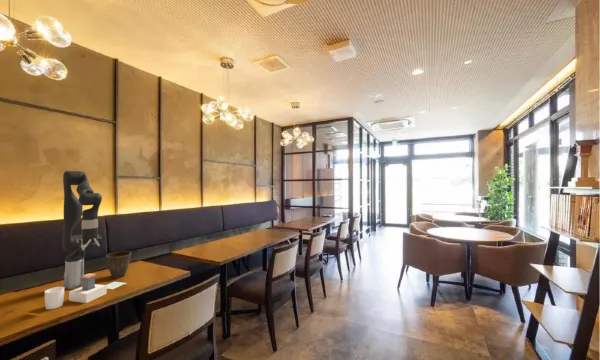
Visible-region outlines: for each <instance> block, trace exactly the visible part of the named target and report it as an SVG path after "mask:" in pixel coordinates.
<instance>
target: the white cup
mask: <svg viewBox="0 0 600 360" xmlns="http://www.w3.org/2000/svg"><path fill="white" fill-rule="evenodd" d="M64 299H65V287H64V286H54V287H51V288H48V289H46V290H44V303H45V304H44V305H45V309H46V310H53V309H57V308H60V307H62V306H64V305H63V304H64V302H65V301H64Z"/></svg>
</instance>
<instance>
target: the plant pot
mask: <svg viewBox="0 0 600 360" xmlns="http://www.w3.org/2000/svg"><path fill="white" fill-rule="evenodd" d="M131 256H132V252H131V251H125V250H124V251H116V252H110V253H108V254H106V255H105V258H106V264H107V268H108V271H109V273H110V276H111V278H112V279H119V278H123V277H125V275H126V273H127V271H128V268H129V265H130V262H131Z"/></svg>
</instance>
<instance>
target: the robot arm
mask: <svg viewBox="0 0 600 360" xmlns="http://www.w3.org/2000/svg"><path fill="white" fill-rule="evenodd" d="M62 184H63V230H62V239H61V243H62V244H61V247H62V248H61V249H63V251H65V252H70V251H73V252H72V253H70V254H68V255H66V256H65V257H64V258H65V260H64V263H65V266H64V268H65V269H64V273H63V287H65V289H66V290H74V289H78V288H80V287H82V278H81V276H83V275H85V255H86V247H88V246H89V245H93V246H94V253H99V252H100V246H101V245H103V244H104V239H103V236H104V235H103V234H99V220H98V219H99V218H98V217H99V213H98V212H99V209H100V206H101V204H102V201H103V200H102V199H103V197H102V194H100V193H99V192H94V189H92V187H91V186H90V183H89V179H88V177H87V174H86V172H84V171H80V170H78V171H77V170H66V171H64V172H63V176H62ZM72 186H76V192H77V194H78V197H77V196H76V195H75V193H74V192H73V190H72ZM84 206H92V207H90V208H88V209H87V208H86V209H84V210H83V207H84ZM81 219H82V220H81ZM80 220H81V234H76V235H72V234H73V230H74V228H75V226H76V225H77V224H78V223H79V222H80ZM65 289H64V290H65Z"/></svg>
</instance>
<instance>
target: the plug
mask: <svg viewBox="0 0 600 360" xmlns="http://www.w3.org/2000/svg"><path fill="white" fill-rule="evenodd" d="M96 276H97V273H90V272H89V273H86V274H84V275H83V276H81V278H82V286H81V287H82V290H85V291H88V290H91V289H93V288H95V284H96Z"/></svg>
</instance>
